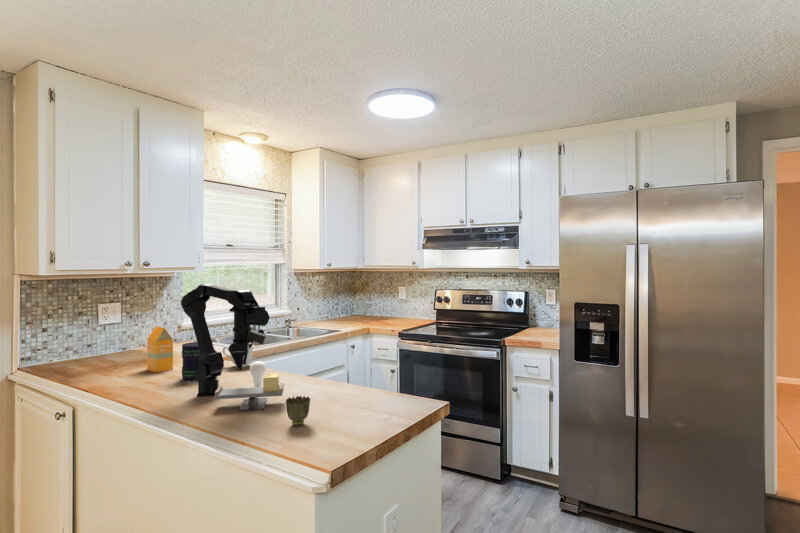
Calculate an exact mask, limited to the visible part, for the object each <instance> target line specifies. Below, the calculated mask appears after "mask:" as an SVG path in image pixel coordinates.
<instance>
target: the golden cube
mask: <svg viewBox="0 0 800 533" xmlns="http://www.w3.org/2000/svg"><path fill="white" fill-rule="evenodd" d="M262 382H263V384H262V385H263V386H262V387H263V392H276V391H278V390H279V386H280V373H266V374H265V373H264V375H263V377H262Z"/></svg>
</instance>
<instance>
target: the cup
mask: <svg viewBox="0 0 800 533" xmlns="http://www.w3.org/2000/svg"><path fill="white" fill-rule="evenodd" d="M310 403H311V397H309V396H306V395H303V397H302V396H301V395H299V396H298V395H296V397H294V396H292V397H288V398H286V399H285V405H286V406H285V407H286V414H287V417H288V419H289V420H291V424H292V426H294V427H299V426H303V425H304V424H305V421H304V420H306V419H307V418H308V416H309V412H310Z"/></svg>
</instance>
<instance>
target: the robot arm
mask: <svg viewBox="0 0 800 533" xmlns="http://www.w3.org/2000/svg"><path fill="white" fill-rule="evenodd" d="M211 297H212V298H216V299H220V300H224V301H226V302H227V303H229V304H230V305H232V307H231V308H230V309H229V310H228V311H229V312H230V313H233V328H232V331H233V339H232V343H231V344H230V345H229V346H228V347H229V351H228V352H229V355H230V356H231V355H232V357H233V359H234V361H235V363H236V364H235V366H236V365H237V367H236V368H237V369H238V371H241V370H242V369H243V368H242V366H243V364H246V360H247V355H248V351H249V349H250V348H251V347H252V346H253V345H254V343H257V344H259V345H263V344H264V343H265V340H266V338H267V333H265V330H264V329H261V328H260V329H259V330H254V329H253V327H252V326H259V327H260V326H261V327H265V326H267V325H268V324H269V321H270V315H269V312H268V311H267V310H266V306H260V304H259V303H258V302H257V299H256V298H255V296H254V295H253V292H252V290H250V289H230V288H227V287H222V286H218V285H213V284H212V283H201V284H200V285H198V286H196V288H195V289H193V290H191V291H189V292H187V293H186V294H185V295H183V296H182V298H181V300H180V305H181V308H182V310H183V312H184V314H186V315H187V317H188V318H190V321H191V325H192V328H193V331H194V336H195V339H196V342H197V343H198V346H199V350H200V357H199V361H198V363H199V368H198V369H197V370H196V371H195V373H194V379H196V380H198V381H197V382H198V383H197V386H198V387H197V394H196V396H197V397H203V396H215V391H216V390H217V389H218V387H219V386H220V380H219V379H218V377H220V376H222V373H223V370H224V368H225V364H224V362H225V359H224V358H223V354H222V353H223V352H221V351H217V350H216V349H215V347H214V343H213V340H212V337H211V334H210V330H209V327H208V323H207V320H206V316H205V313H206V309H207V304H206V303H207V302H208V301H209V300H210V298H211Z"/></svg>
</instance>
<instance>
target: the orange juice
mask: <svg viewBox="0 0 800 533" xmlns="http://www.w3.org/2000/svg"><path fill="white" fill-rule="evenodd" d="M146 341H147V342H146V343H147V347H146V348H147V349H146V353H147V354H146V355H147V358H146V359H147V360H146V361H147V371H150V372H153V373H161V372H165V371H172V370H173V369H174V367H173V366H174V346H173V345H174V339H173V337H172V336H171V334H170V333H169V332H168V331H167V329H166V328H165V327H162V326H155V327H154V329H153V330H152V331H151V333H150V334H149V336H148V337H147V340H146Z"/></svg>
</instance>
